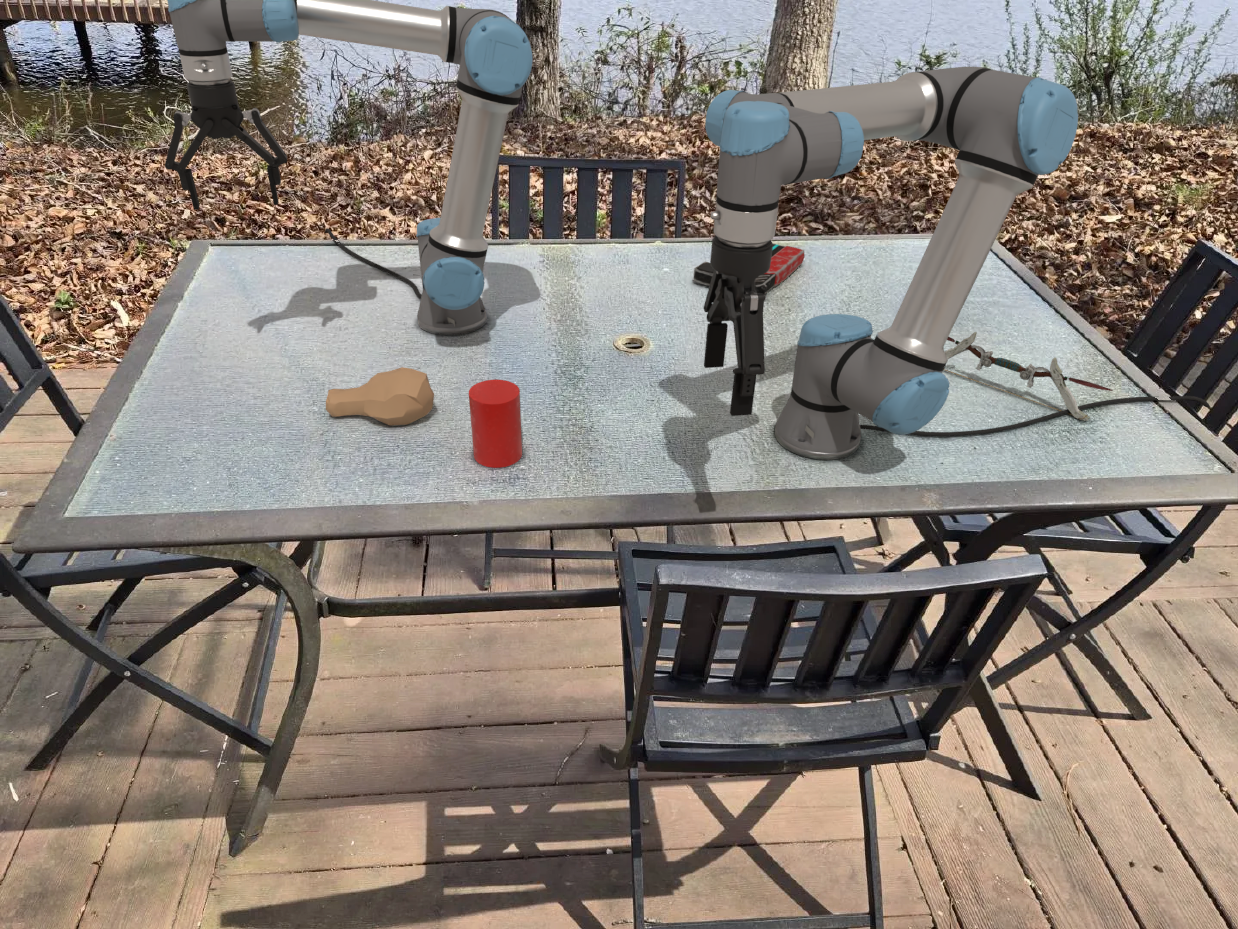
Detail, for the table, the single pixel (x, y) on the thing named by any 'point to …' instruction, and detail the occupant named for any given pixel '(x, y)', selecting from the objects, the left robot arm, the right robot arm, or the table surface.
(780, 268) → the gun
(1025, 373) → the bow
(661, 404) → the table surface
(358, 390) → the squash
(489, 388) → the tin
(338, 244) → the left robot arm
